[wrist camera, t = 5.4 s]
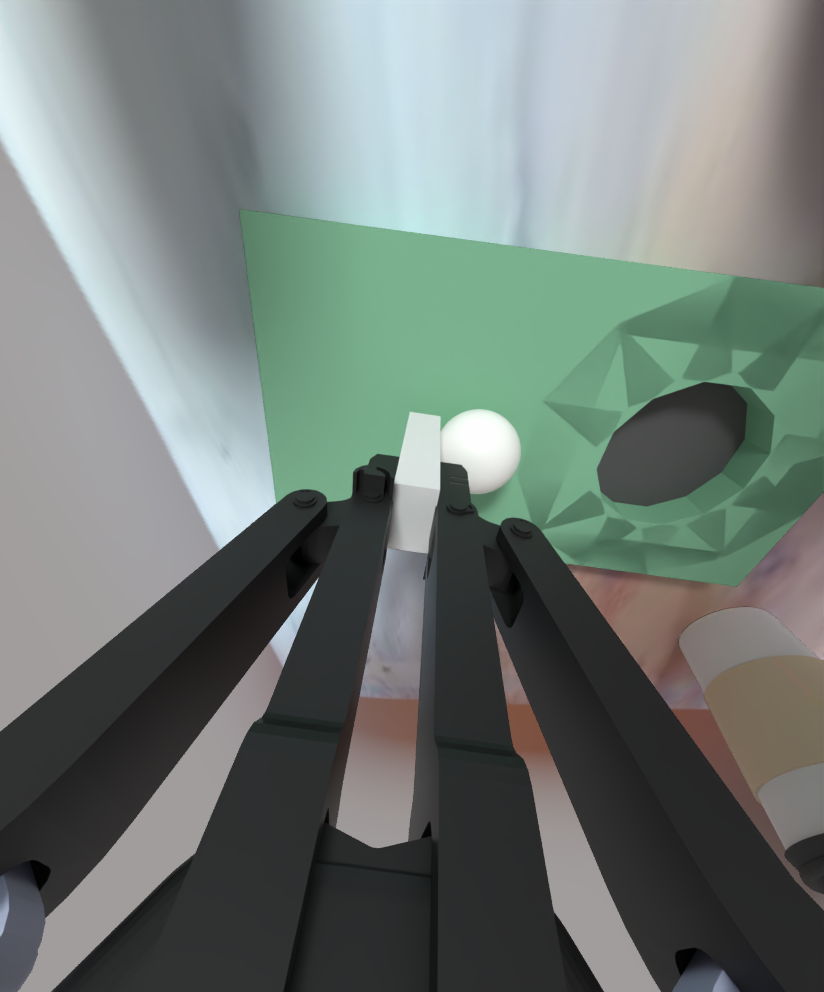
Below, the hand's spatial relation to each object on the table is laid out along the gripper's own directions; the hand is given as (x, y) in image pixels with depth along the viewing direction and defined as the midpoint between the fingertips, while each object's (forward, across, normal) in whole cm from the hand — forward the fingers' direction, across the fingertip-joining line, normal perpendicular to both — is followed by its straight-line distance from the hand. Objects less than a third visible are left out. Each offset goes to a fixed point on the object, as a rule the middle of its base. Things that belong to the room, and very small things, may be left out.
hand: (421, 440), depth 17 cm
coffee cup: (+4, +27, -15) cm, 31 cm away
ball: (0, +3, 0) cm, 3 cm away
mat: (+4, +7, 0) cm, 7 cm away
